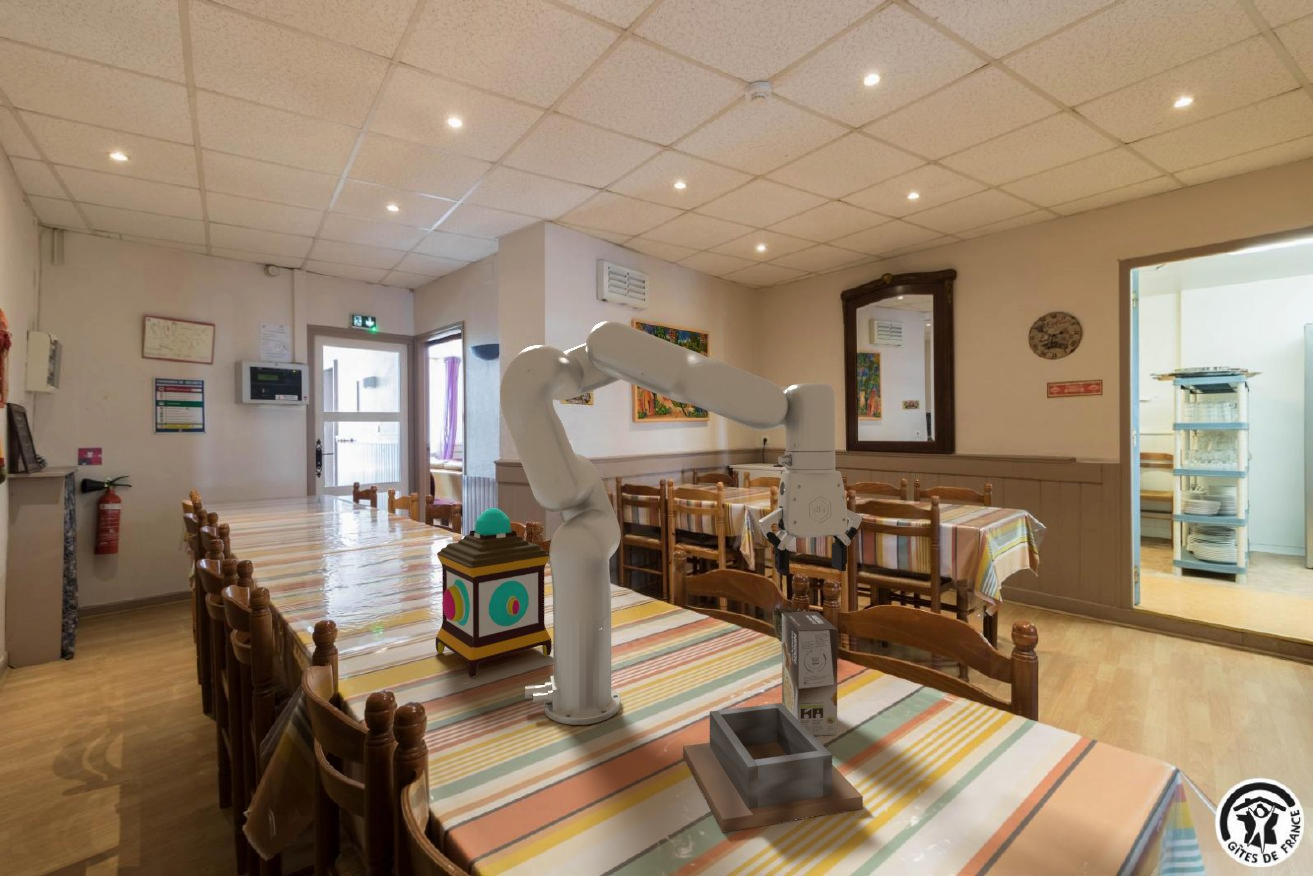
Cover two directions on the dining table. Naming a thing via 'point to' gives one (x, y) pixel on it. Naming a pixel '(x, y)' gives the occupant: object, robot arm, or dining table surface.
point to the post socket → (766, 770)
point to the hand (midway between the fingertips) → (811, 571)
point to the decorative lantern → (492, 593)
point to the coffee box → (810, 671)
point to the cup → (778, 620)
